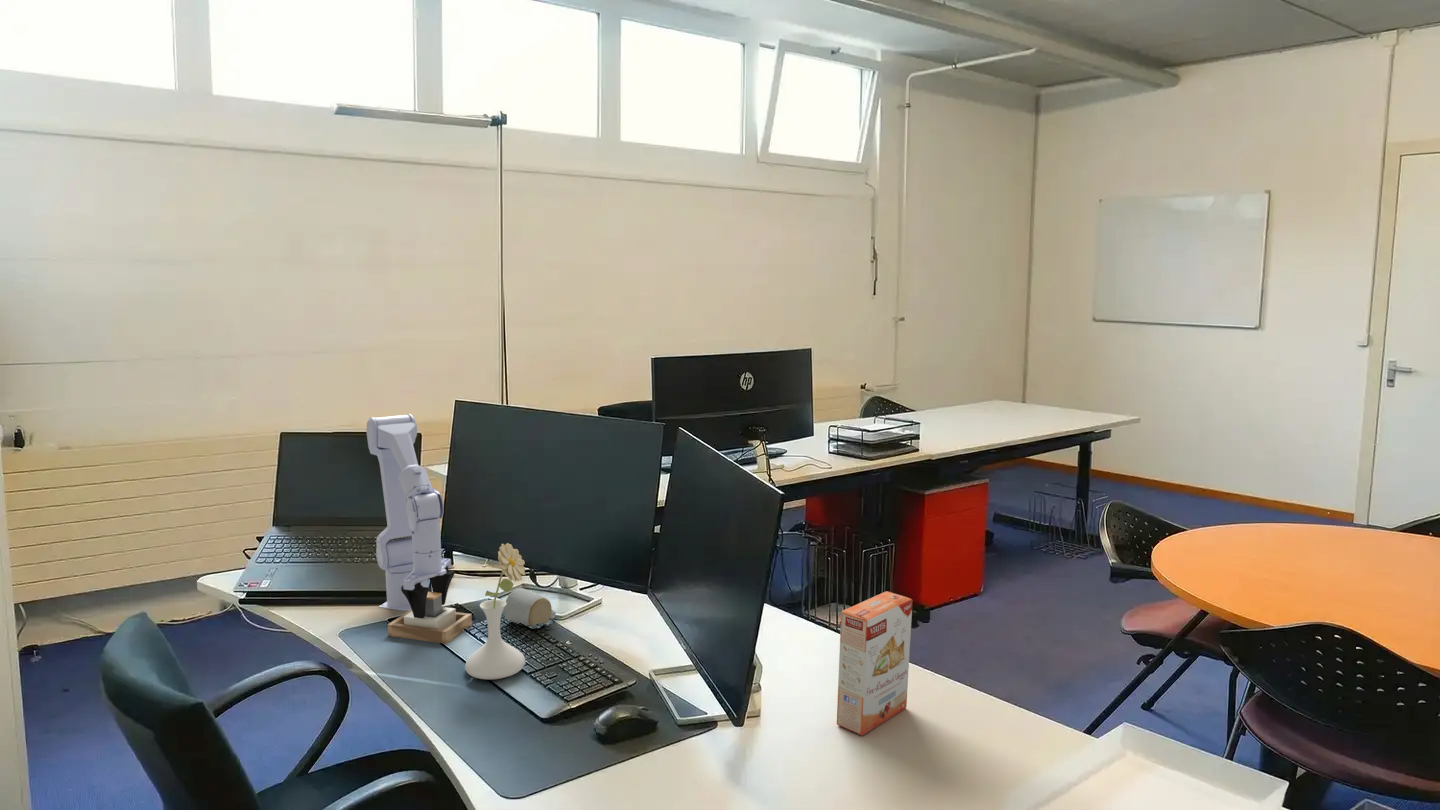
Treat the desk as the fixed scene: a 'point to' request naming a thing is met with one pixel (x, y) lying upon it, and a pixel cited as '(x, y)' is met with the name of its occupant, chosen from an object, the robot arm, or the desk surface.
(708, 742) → the desk surface
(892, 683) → the cracker box
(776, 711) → the desk surface
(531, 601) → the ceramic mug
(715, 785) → the desk surface
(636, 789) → the desk surface
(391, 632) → the walled box
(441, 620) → the socket block
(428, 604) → the block
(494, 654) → the flower in vase
